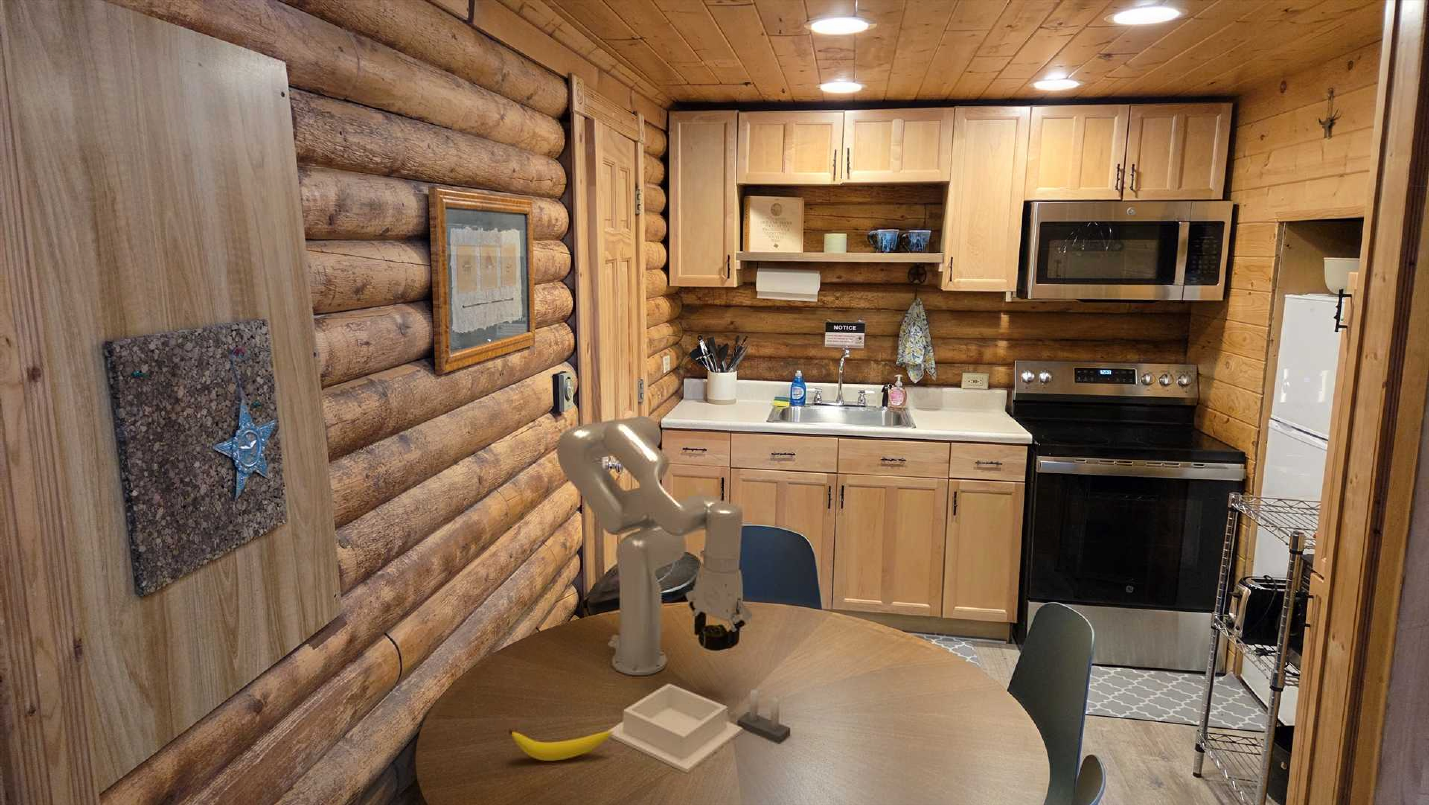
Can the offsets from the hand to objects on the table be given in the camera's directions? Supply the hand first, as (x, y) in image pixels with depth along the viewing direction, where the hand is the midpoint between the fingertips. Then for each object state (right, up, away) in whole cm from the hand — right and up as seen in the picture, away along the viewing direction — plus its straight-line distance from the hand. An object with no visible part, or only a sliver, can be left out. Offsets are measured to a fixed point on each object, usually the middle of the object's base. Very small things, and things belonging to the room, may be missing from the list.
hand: (715, 639), depth 179 cm
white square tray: (-8, -15, -13) cm, 22 cm away
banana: (-29, -16, -23) cm, 40 cm away
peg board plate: (+9, -15, -11) cm, 21 cm away
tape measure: (0, -2, +1) cm, 2 cm away
